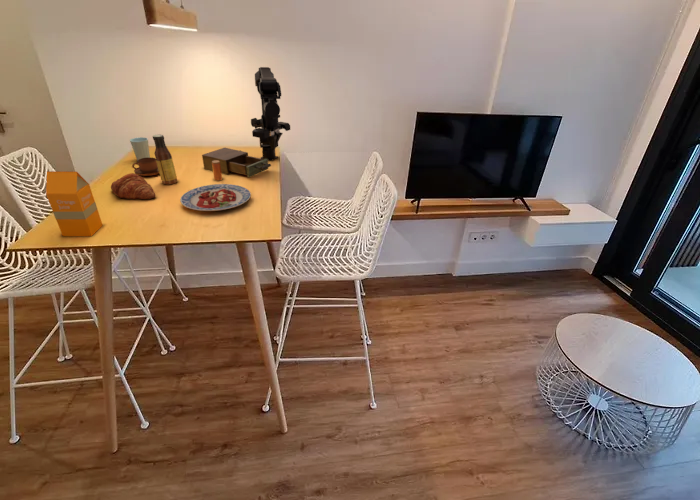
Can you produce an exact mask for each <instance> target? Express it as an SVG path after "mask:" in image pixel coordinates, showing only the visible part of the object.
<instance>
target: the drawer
mask: <svg viewBox="0 0 700 500" xmlns="http://www.w3.org/2000/svg"><path fill="white" fill-rule="evenodd" d="M227 163H228V170H229V171H231V172H233V173H236V174H240V175H245V176H247V178H251V177H253V176H255V175H256V176H257V175H258V174H261V173H263V172H265V171H268V170H269V168H270V167H272V164H271V163H269V160H268V159H261V157H255V156H251V155H248V156H246V155H244V156H241V157H239V158H236V159H233V160H230V161H228V162H227Z"/></svg>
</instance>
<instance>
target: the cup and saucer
mask: <svg viewBox="0 0 700 500" xmlns="http://www.w3.org/2000/svg"><path fill="white" fill-rule="evenodd" d="M136 165H138V167H135V166H136ZM131 167H132V169H134V170H133V173H134V174H137V175H139V176H141V177H149V176H150V177H151V176H157V175H160V173H159V170H158V166H157V162H156V157H151V156H150V157H149V158H142V159H139V160H138V161H137V162H133V163H132V166H131Z"/></svg>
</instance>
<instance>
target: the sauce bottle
mask: <svg viewBox="0 0 700 500" xmlns="http://www.w3.org/2000/svg"><path fill="white" fill-rule="evenodd" d="M152 140H153V141H154V146H155V149H154V158H155V159H156V162H157V166H158V170H159V177H160V181H161V182H162V184H163V185H174V184H176V183H177V182H178V175H177V172H176V168H175V164H174V159H173V156H172V154H171V151H170V150H169V149H168V147H167V144H166V142H165V137H164V134H160V133H159V134H158V133H157V134H153V135H152Z"/></svg>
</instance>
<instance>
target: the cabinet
mask: <svg viewBox="0 0 700 500" xmlns="http://www.w3.org/2000/svg"><path fill="white" fill-rule="evenodd" d="M244 155H246V156H249V152H247V151H242V150H238V149H234V148H230V147H222V148H218V149H216V150H213V151H209V152H207V153H203V154H201V158H202V164H203V169H204V170H208V171H212V172H213V168H212V161H214V160H218V161H220V166H221V173H222V174H224V175H231V174H232V173H234V172H231V171H229V170H228V163H227V162H228V161H230V160H233V159H236V158H239V157H241V156H244Z"/></svg>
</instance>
